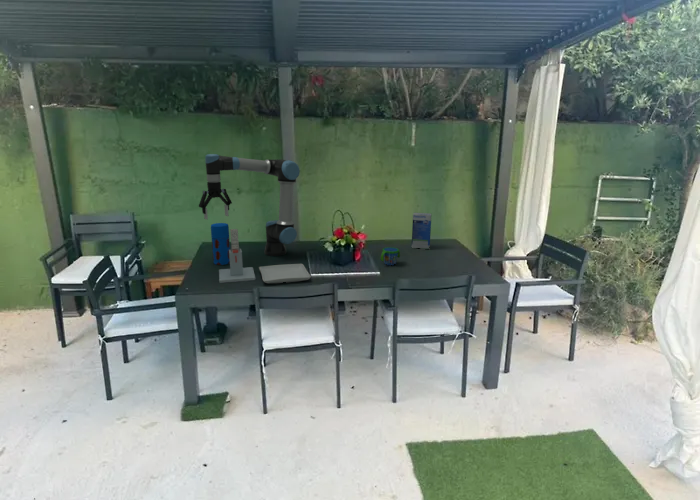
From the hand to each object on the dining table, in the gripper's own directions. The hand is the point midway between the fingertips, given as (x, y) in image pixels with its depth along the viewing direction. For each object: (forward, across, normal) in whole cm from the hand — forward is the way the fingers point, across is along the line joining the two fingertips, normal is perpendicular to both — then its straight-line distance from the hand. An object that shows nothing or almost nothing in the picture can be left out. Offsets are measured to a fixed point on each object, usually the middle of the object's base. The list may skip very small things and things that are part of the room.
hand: (216, 217), depth 261 cm
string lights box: (+34, -132, +55) cm, 147 cm away
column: (+31, -2, +16) cm, 35 cm away
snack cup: (+34, -86, +64) cm, 112 cm away
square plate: (+34, -21, +36) cm, 54 cm away
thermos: (+33, -9, -14) cm, 37 cm away
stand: (+33, -2, +16) cm, 37 cm away
